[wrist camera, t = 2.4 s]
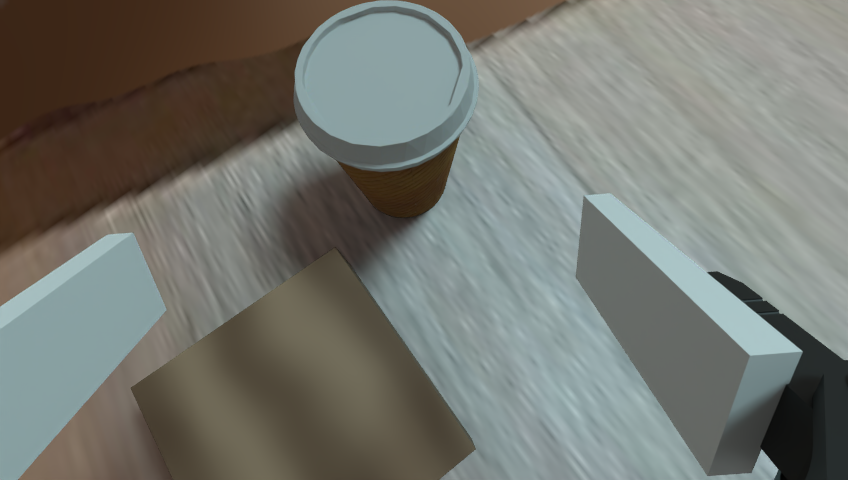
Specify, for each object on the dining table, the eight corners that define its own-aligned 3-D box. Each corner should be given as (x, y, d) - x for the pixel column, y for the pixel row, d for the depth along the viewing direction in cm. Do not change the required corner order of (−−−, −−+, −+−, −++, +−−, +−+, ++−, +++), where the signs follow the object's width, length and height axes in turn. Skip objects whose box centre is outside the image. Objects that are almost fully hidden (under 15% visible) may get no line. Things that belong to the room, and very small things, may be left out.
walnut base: (349, 263, 30) (335, 247, 26) (471, 438, 26) (476, 449, 22) (173, 386, 28) (130, 388, 24) (277, 596, 24) (246, 637, 20)
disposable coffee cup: (401, 265, 30) (373, 195, 18) (317, 179, 32) (246, 70, 21) (494, 179, 31) (522, 66, 20) (407, 103, 34) (388, -36, 22)
